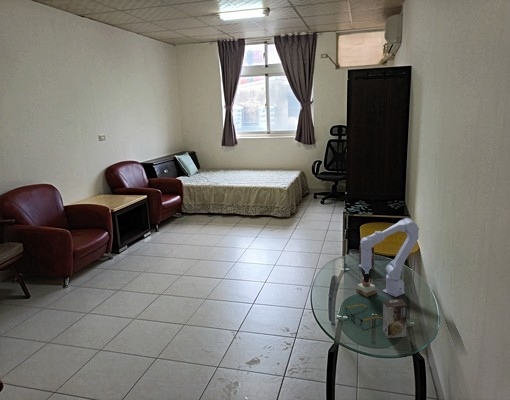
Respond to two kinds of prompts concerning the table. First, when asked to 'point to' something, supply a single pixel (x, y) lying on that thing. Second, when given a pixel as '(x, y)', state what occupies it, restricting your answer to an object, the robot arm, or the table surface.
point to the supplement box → (371, 257)
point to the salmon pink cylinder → (365, 283)
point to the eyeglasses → (357, 317)
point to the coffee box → (394, 318)
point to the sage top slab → (366, 288)
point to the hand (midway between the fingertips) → (366, 280)
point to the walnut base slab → (366, 293)
